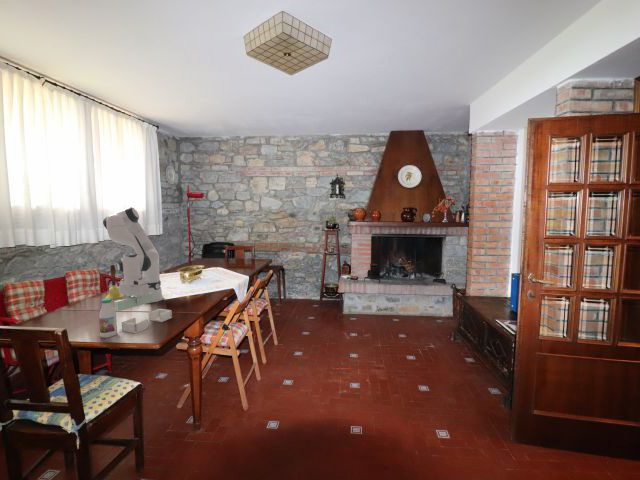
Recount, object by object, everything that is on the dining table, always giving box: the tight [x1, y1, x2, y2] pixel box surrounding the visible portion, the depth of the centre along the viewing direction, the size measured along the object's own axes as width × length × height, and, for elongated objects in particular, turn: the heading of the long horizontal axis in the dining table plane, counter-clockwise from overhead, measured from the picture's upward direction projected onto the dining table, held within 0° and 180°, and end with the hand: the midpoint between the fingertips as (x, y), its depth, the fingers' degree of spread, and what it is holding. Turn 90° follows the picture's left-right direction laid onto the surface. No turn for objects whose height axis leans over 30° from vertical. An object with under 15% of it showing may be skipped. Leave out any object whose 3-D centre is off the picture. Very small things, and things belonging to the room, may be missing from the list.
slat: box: [113, 292, 154, 312], centre depth 193 cm, size 21×4×6 cm, turn 149°
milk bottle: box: [98, 298, 118, 339], centre depth 172 cm, size 8×8×20 cm
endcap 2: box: [148, 308, 173, 323], centre depth 198 cm, size 8×10×5 cm
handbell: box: [104, 264, 125, 300], centre depth 246 cm, size 12×12×25 cm
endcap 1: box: [121, 317, 149, 334], centre depth 181 cm, size 8×10×5 cm
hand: (134, 302), depth 193 cm, fingers closed on slat, 4 cm apart
